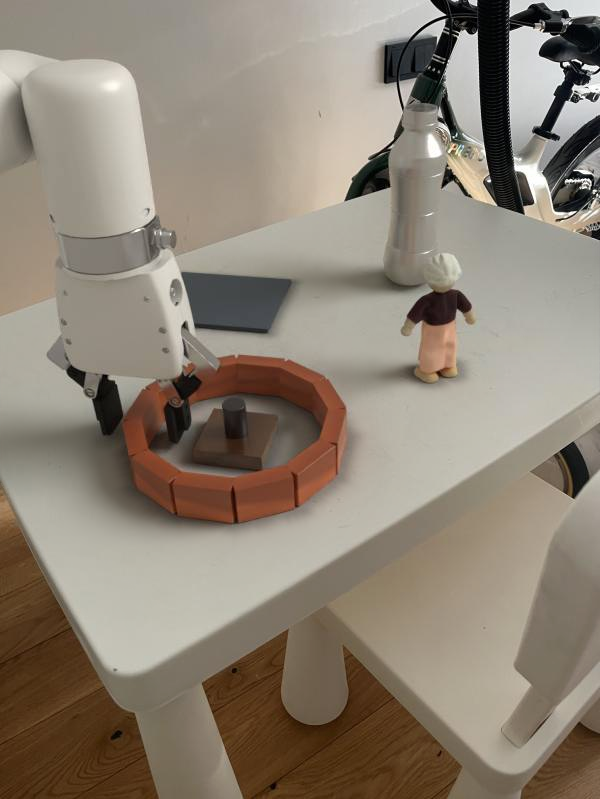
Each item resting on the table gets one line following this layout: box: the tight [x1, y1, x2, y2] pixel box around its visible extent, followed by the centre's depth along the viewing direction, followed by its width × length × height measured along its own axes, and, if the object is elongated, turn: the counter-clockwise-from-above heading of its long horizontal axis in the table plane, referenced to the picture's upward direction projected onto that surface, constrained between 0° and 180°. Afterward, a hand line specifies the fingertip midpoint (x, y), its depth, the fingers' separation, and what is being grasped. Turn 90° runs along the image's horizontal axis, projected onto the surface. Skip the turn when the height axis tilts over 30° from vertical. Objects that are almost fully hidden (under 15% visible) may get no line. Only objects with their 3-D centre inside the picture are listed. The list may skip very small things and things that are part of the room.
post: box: [192, 396, 280, 472], centre depth 63 cm, size 6×6×4 cm
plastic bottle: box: [382, 102, 448, 286], centre depth 83 cm, size 6×7×20 cm
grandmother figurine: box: [400, 252, 477, 384], centre depth 69 cm, size 8×4×13 cm, turn 121°
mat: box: [180, 271, 292, 334], centre depth 86 cm, size 14×12×1 cm
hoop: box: [121, 354, 348, 524], centre depth 64 cm, size 19×19×3 cm
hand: (145, 428), depth 66 cm, fingers open, 5 cm apart
